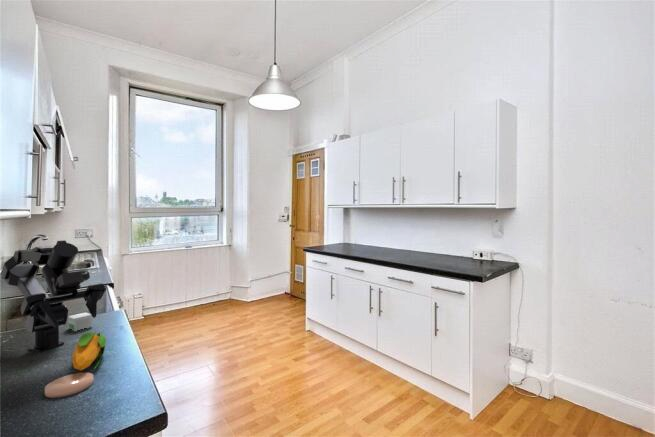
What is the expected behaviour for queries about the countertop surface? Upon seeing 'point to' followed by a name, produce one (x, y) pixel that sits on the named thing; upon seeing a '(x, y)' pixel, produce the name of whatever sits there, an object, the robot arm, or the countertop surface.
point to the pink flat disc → (68, 385)
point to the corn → (88, 350)
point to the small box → (80, 321)
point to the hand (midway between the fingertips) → (76, 321)
